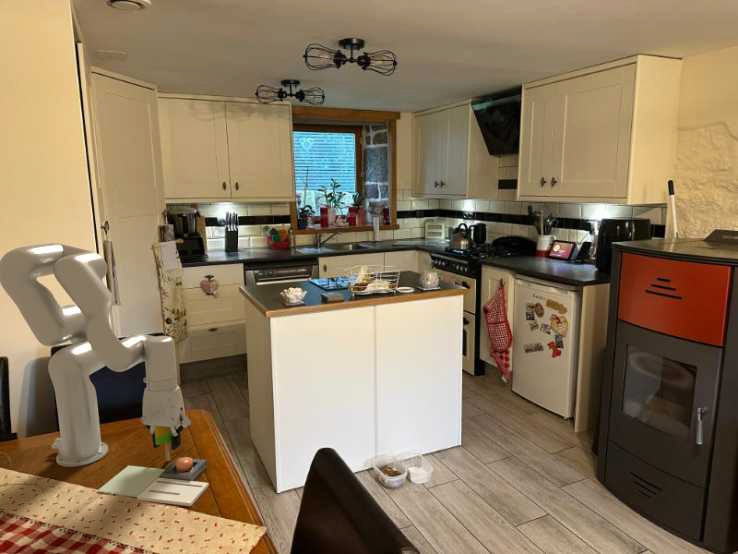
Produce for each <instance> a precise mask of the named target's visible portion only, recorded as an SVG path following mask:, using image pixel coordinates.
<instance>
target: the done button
mask: <svg viewBox="0 0 738 554" xmlns="http://www.w3.org/2000/svg"><path fill="white" fill-rule="evenodd" d="M177 459H178V458H177ZM177 459H176V460H177ZM192 459H193V458H192V457H188V456H184V457H180V459H178V460H177V461H176V460H175V461H176V469H177V471H180V472H189V471H190V470H191V469H192V468H193V462H192Z"/></svg>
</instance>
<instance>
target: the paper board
mask: <svg viewBox="0 0 738 554" xmlns="http://www.w3.org/2000/svg"><path fill="white" fill-rule="evenodd" d="M209 486H210V483H209V482H204V481H195V480H194V481H186V480H177V479H168V478H162V477H159V478H157V479H156V480H155V481H154V482H153V483H152V484H150V485H149V486H148V487H147V488H146V489H145V490H144V491H143V492H142V493H141V494H139V495H138V496H137V497H136V500H137V501H146V502H153V503H161V504H170V505H176V506H177V505H178V506H186V507H192V506H193V505H194V504H195V502H196V501H197V500H198V499H199V497H201V495H202V494H203V493H204V492H205V491H206V490H207V489H208V488H209Z"/></svg>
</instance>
